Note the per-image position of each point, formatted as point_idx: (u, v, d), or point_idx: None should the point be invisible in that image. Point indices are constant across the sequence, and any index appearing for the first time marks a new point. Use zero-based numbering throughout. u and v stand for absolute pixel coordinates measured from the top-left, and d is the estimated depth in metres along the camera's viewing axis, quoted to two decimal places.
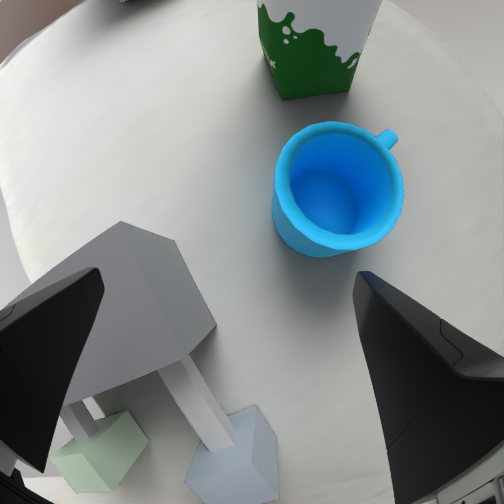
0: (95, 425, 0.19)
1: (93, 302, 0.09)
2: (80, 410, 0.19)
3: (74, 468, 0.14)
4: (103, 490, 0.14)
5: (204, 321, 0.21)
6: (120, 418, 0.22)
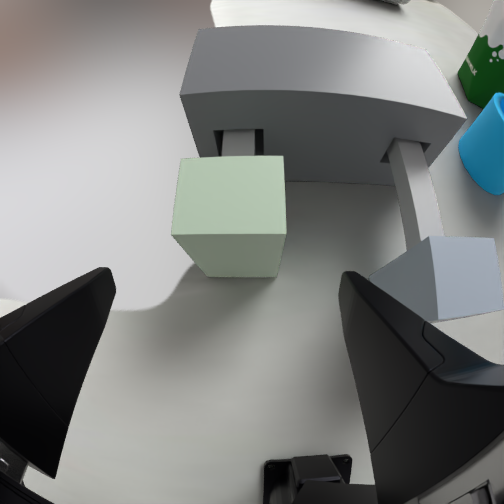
0: None
1: (105, 303, 0.09)
2: None
3: (234, 178, 0.13)
4: (262, 229, 0.12)
5: None
6: None
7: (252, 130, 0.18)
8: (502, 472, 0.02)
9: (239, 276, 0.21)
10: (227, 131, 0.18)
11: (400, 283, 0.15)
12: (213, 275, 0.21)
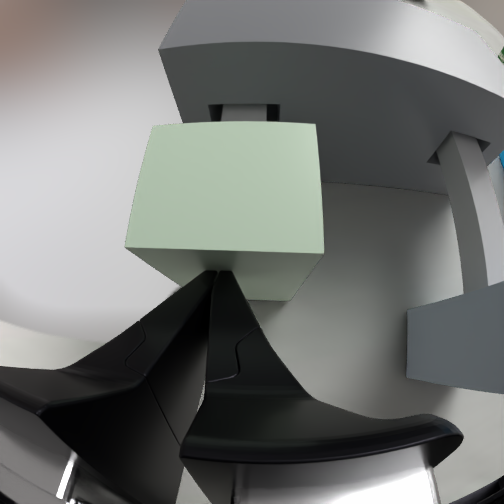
0: None
1: None
2: None
3: (235, 154, 0.08)
4: (281, 245, 0.07)
5: None
6: None
7: None
8: None
9: None
10: None
11: (459, 332, 0.10)
12: None
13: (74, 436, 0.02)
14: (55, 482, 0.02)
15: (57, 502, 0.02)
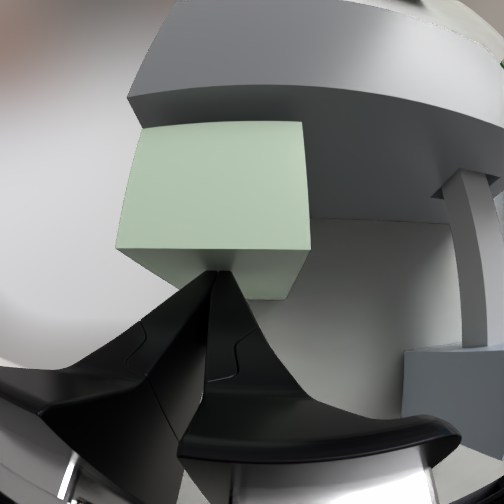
0: None
1: None
2: None
3: (221, 154, 0.08)
4: (268, 242, 0.07)
5: None
6: None
7: None
8: None
9: None
10: None
11: (453, 387, 0.09)
12: None
13: (75, 437, 0.02)
14: (56, 483, 0.02)
15: (58, 503, 0.02)
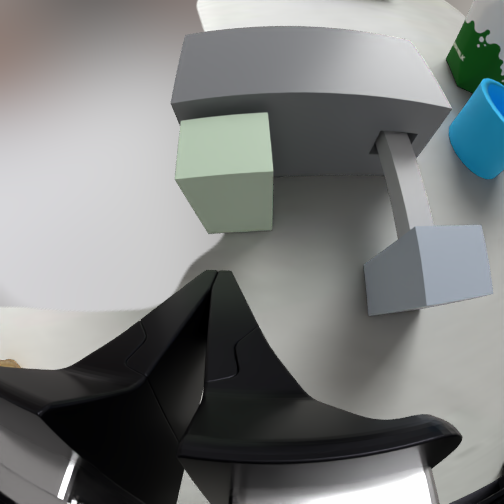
0: None
1: None
2: None
3: (227, 131, 0.15)
4: (252, 169, 0.14)
5: None
6: None
7: None
8: None
9: (237, 231, 0.23)
10: None
11: (391, 271, 0.16)
12: (213, 231, 0.22)
13: (74, 436, 0.02)
14: (56, 483, 0.02)
15: (58, 503, 0.02)
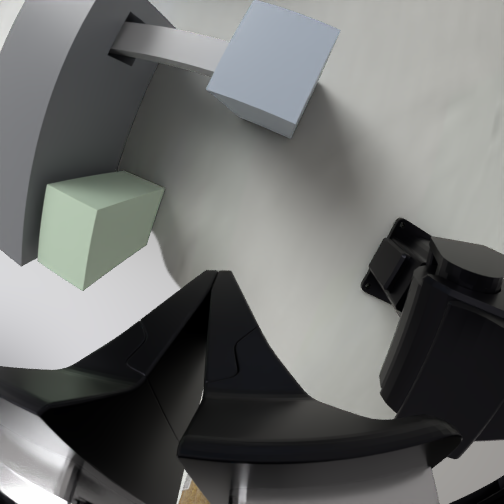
0: None
1: None
2: None
3: (54, 229, 0.13)
4: (90, 227, 0.13)
5: None
6: (112, 173, 0.19)
7: None
8: None
9: (153, 219, 0.22)
10: None
11: (250, 114, 0.14)
12: (145, 241, 0.22)
13: (74, 437, 0.02)
14: (56, 483, 0.02)
15: (58, 503, 0.02)
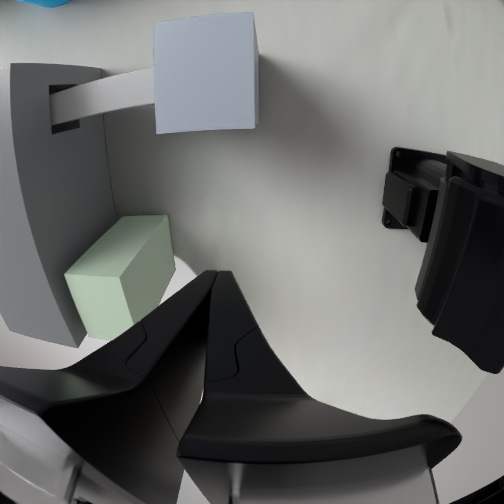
0: None
1: None
2: None
3: (91, 307, 0.15)
4: (120, 292, 0.15)
5: None
6: (114, 225, 0.21)
7: None
8: None
9: (171, 246, 0.23)
10: None
11: None
12: (173, 267, 0.24)
13: (74, 436, 0.02)
14: (56, 483, 0.02)
15: (58, 503, 0.02)
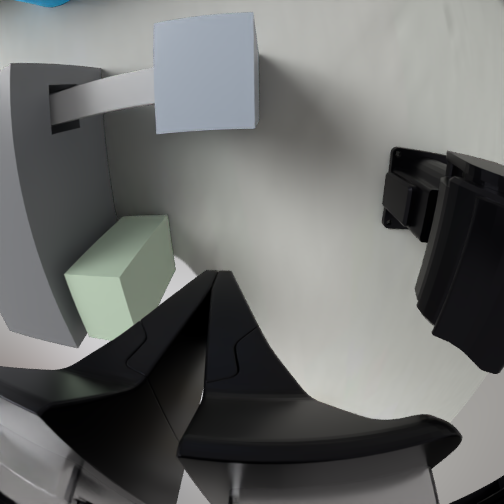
0: None
1: None
2: None
3: (91, 307, 0.15)
4: (120, 292, 0.15)
5: None
6: (114, 225, 0.21)
7: None
8: None
9: (171, 246, 0.23)
10: None
11: None
12: (173, 267, 0.24)
13: (74, 436, 0.02)
14: (56, 483, 0.02)
15: (58, 503, 0.02)
